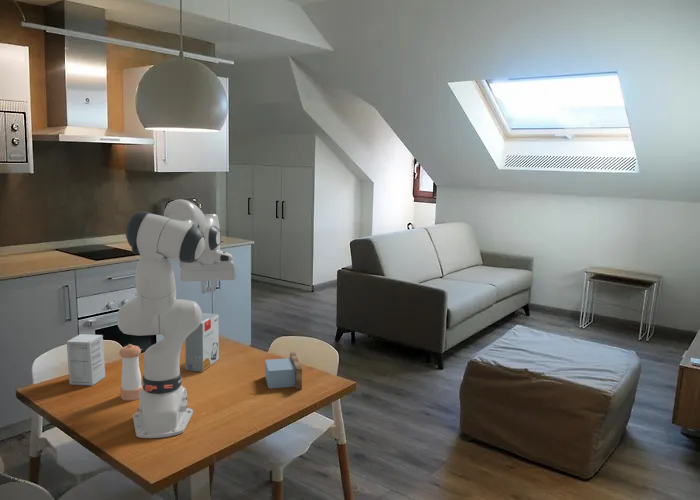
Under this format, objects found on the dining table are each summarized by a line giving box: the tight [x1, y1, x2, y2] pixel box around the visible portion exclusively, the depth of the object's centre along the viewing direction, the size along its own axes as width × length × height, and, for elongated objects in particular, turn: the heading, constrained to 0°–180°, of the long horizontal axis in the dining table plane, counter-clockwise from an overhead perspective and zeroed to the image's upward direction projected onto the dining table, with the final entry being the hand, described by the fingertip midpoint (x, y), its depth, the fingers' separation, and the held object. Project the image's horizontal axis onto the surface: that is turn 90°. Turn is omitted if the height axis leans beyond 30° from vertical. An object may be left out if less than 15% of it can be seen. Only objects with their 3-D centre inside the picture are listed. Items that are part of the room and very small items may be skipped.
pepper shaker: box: [119, 343, 143, 401], centre depth 198 cm, size 7×7×19 cm
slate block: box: [264, 357, 295, 389], centre depth 216 cm, size 12×10×7 cm
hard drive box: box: [184, 312, 220, 373], centre depth 230 cm, size 16×8×20 cm, turn 168°
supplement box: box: [66, 333, 106, 387], centre depth 211 cm, size 10×9×17 cm
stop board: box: [289, 351, 303, 390], centre depth 217 cm, size 18×2×8 cm, turn 14°
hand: (208, 292), depth 212 cm, fingers closed
